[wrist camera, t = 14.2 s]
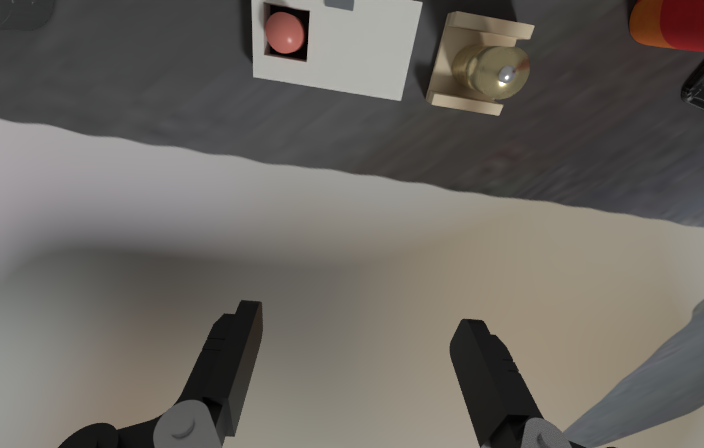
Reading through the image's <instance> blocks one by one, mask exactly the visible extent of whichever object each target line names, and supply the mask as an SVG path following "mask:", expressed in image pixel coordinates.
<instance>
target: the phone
mask: <svg viewBox="0 0 704 448" xmlns="http://www.w3.org/2000/svg"><path fill="white" fill-rule="evenodd" d="M681 99H682V101H684V102H686V103H688V104H690V105H692V106H695V107H697V108H699V109H701V110H704V65H703V66H702V67H701V69H700V70H699V71H698V72H697V73H696V75H695V76H694V77H693V78H692V79H691V80H690V82H689V83H688V84H687V85H686V86H685V88H684V89H683V90H682V93H681Z"/></svg>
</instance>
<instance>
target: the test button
mask: <svg viewBox="0 0 704 448" xmlns="http://www.w3.org/2000/svg"><path fill="white" fill-rule="evenodd" d="M265 31H266V37H267V40H268V42H269V44H270V45H271V47H272V48H273V49H275V50H276V51H278V52H280V53H291V52H295V51H298V50H299V49H301V48H302V47H303V45H304V43H305V40H306V30H305V27H304V25H303V23H302V22H301V20H300V19H298V18H297V17H296V16H293V15H291V14H288V13H285V12H277V13H274V14H273V15H272V16H270V18H269V19H268V21H267V23H266V29H265Z"/></svg>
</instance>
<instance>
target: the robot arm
mask: <svg viewBox="0 0 704 448" xmlns="http://www.w3.org/2000/svg"><path fill="white" fill-rule="evenodd" d="M53 4H54V0H0V30H20V31H23V30H34V29H36V28H39V27H41V26H42V25H43V24H44V23H46V22H47V20H48V19H49V17H50V15H51V13H52V9H53ZM262 332H263V318H262V302H259V301H246V300H241V302H240V304H239V306H238V308H237V311H236V313H235V314H223V315H222V317H220V319H218V321H216V322H215V323H214V324H213V327H212V329H211V331H210V333H209V335H208V337H207V340H206V342H205V344H204V346H203V348H202V352H201V353H200V355H199V357H198V359H197V361H196V364H195V366H194V368H193V370H192V372H191V374H190V376H189V379H188V381H187V383H186V385H185V387H184V389H183V392H182V394H181V396H180V397H179V399H178V400H177V402H176V403H175V404H174V405H173V406H172V407H171V408H170V409H168V410H167V411H166V412H165V413H164V414H162V415H160V416H159V417H157V418H155V419H153V420H150V421H147V422H143V423H140V424H136V425H133V426H129V427H125V428H122V429H118V430H116V429H115V427H114V426H112V425H110V424H107V423H96V424H92V425H89V426H86V427H84V428H82V429H80V430H78V431H77V432H75V433H73V434H72V435H71V436H70V437H68V438H67V439H66V440H65V441H64V442H63V443H62V444H61V445H60V446H59V447H58V448H222V446H223V443H224V439H225V436H233V437H234V436H235V433H236V429H237V426H238V422H239V419H240V415H241V412H242V408H243V404H244V401H245V397H246V393H247V390H248V386H249V383H250V379H251V376H252V372H253V368H254V365H255V361H256V358H257V354H258V351H259V347H260V343H261V339H262ZM450 356H451V360H452V363H453V366H454V369H455V372H456V375H457V378H458V381H459V385H460V388H461V391H462V394H463V397H464V400H465V403H466V406H467V409H468V412H469V415H470V418H471V421H472V424H473V427H474V430H475V434H476V436H477V440H478V443H479V446H480V448H586V447H583V446H581V445H578V444H576V443H573V442H571V441H569V440H567V438H566V437H565V435H564V434H563V433H562V432H561V431H560V430H559V429H558V428H557V427H556V426H555V425H553V424H551V423H550V422H548V421H547V420H545V419H544V418H543V416H542V415H541V413H540V411H539V409H538V407H537V405H536V403H535V401H534V399H533V397H532V395H531V394H530V392H529V389H528V388H527V386H526V384H525V382H524V380H523V378H522V376H521V374H520V373H519V372H518V371H519V370H518V368H517V366H516V364H515V362H513V359H512V357H511V355H510V353H509V351H508V349H507V347H506V346H505V345H504V344H503V342H502V341H501V340H500V339H499V338H498V337H497V336H496V335H491V334H490V332H489V330H488V328H487V326H486V324H485V323H484V321H482V320H473V319H462V320H461V322H460V324H459V326H458V328H457V330H456V332H455V334H454V336H453V338H452V340H451V343H450ZM607 448H615V447H607Z"/></svg>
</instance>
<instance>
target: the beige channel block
mask: <svg viewBox="0 0 704 448" xmlns="http://www.w3.org/2000/svg"><path fill="white" fill-rule="evenodd" d="M534 27H535V26H533V25H528V24H523V23H517V22H512V21H507V20H502V19H496V18H491V17H486V16H480V15H475V14H470V13H465V12H459V11H456V12H452V13H448V15H447V19H446V23H445V27H444V30H443V34H442V38H441V42H440V46H439V49H438V53H437V57H436V61H435V65H434V68H433V72H432V76H431V80H430V84H429V87H428V91H427V95H426V100H427V101H428V102H429V103H430V104H431V105H437V106H443V107H449V108H455V109H462V110H468V111H474V112H480V113H486V114H492V115H498V116H499V115H500V112H501V110H502V107H503V105H502V104H499V103H497V102H495V101H494V98H492V97H489V96H487V95H485V94H482V93H480V92H478V91H475V90H473V89H471V88H468V87H466V86H464V85H461V84H459V83H458V82H456V80H455V79H454V77H453V75H452V63H453V60H454V58H455V56H456V55H457V53H458V52H459V51H460V50H461V49H462V48H464V47H466V46H468V45H474V44H475V45H491V46H506V47H514V46H515V43H516V40H517V39H530V37H531V34H532V32H533V29H534Z"/></svg>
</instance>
